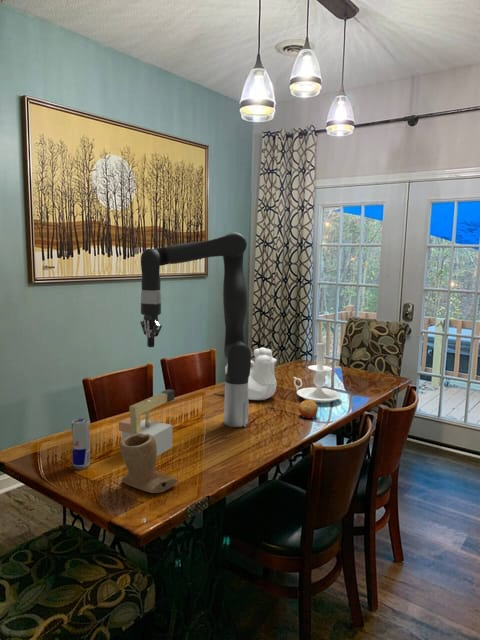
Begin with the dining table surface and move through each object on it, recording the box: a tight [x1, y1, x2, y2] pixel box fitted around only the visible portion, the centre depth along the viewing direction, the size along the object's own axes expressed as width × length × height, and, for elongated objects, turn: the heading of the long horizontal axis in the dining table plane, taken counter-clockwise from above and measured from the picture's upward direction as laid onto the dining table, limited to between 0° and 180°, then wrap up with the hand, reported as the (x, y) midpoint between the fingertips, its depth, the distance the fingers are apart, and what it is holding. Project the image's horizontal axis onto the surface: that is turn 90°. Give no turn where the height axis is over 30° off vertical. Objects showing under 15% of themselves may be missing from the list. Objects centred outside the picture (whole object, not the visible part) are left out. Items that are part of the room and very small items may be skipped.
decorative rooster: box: [224, 347, 278, 401], centre depth 222 cm, size 25×16×25 cm, turn 58°
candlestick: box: [292, 342, 342, 404], centre depth 221 cm, size 21×25×28 cm
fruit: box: [297, 399, 318, 419], centre depth 198 cm, size 8×8×8 cm
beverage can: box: [71, 417, 91, 470], centre depth 145 cm, size 5×5×15 cm
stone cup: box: [119, 434, 179, 494], centre depth 134 cm, size 15×12×15 cm
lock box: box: [121, 418, 173, 457], centre depth 159 cm, size 12×12×8 cm
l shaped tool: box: [128, 388, 175, 434], centre depth 161 cm, size 22×3×9 cm, turn 154°
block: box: [118, 417, 131, 433], centre depth 156 cm, size 5×5×3 cm
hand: (150, 346), depth 180 cm, fingers closed
